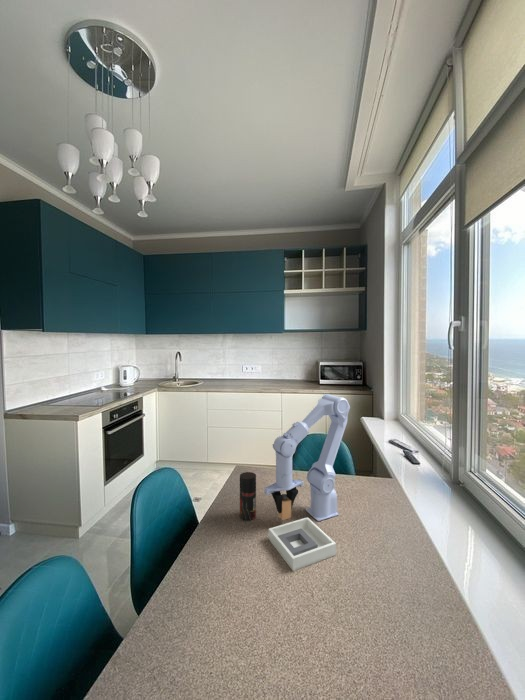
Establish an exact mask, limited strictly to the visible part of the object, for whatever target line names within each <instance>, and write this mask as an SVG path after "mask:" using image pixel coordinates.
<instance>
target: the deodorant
mask: <svg viewBox="0 0 525 700" xmlns="http://www.w3.org/2000/svg"><path fill="white" fill-rule="evenodd" d="M256 518H257V474H256V473H254V472H253V471H252V472H251V471H244V472H242V473H240V474H239V519H240V520H242V521H245V522H249V521H253V520H255V519H256Z"/></svg>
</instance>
